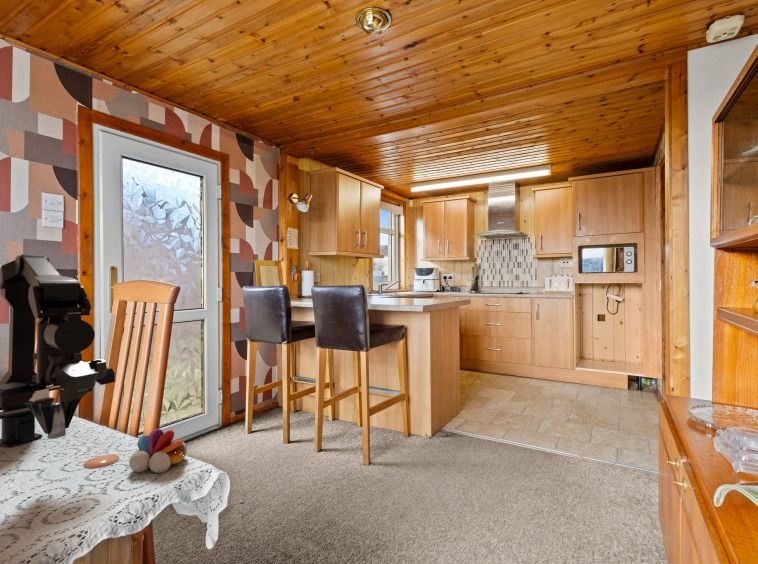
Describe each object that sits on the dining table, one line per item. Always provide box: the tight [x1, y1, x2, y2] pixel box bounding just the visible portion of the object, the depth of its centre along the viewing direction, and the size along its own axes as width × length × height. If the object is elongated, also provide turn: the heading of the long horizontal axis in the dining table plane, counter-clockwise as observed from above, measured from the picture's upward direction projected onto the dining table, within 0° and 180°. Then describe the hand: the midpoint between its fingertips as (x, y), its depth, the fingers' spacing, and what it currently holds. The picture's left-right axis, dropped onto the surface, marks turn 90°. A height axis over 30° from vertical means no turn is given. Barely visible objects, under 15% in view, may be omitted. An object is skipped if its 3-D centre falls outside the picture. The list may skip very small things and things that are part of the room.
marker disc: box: [82, 454, 120, 469], centre depth 81 cm, size 6×6×1 cm
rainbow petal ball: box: [129, 428, 188, 474], centre depth 80 cm, size 8×10×7 cm
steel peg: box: [47, 401, 67, 440], centre depth 74 cm, size 3×3×6 cm
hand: (56, 430), depth 74 cm, fingers closed on steel peg, 3 cm apart
